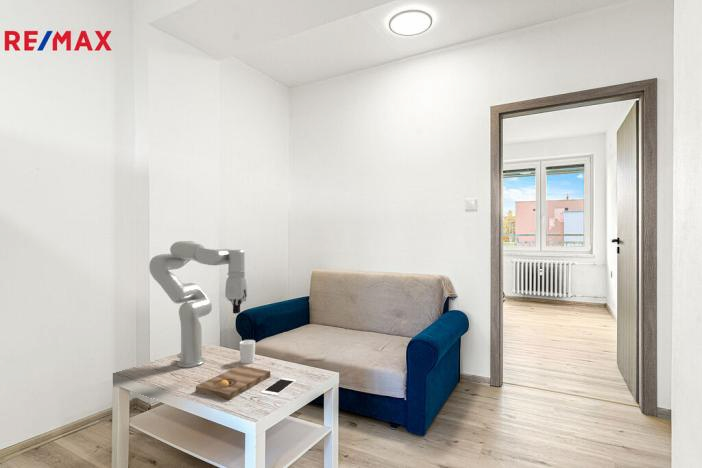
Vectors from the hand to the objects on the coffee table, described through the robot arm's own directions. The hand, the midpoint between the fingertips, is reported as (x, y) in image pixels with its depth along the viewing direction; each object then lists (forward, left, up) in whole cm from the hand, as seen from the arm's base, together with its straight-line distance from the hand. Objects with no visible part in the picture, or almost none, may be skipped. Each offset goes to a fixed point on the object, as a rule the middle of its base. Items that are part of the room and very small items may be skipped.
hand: (236, 312), depth 174 cm
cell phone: (+31, -8, -28) cm, 42 cm away
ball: (+12, -20, -25) cm, 35 cm away
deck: (+12, -14, -27) cm, 33 cm away
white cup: (-2, +10, -27) cm, 29 cm away
